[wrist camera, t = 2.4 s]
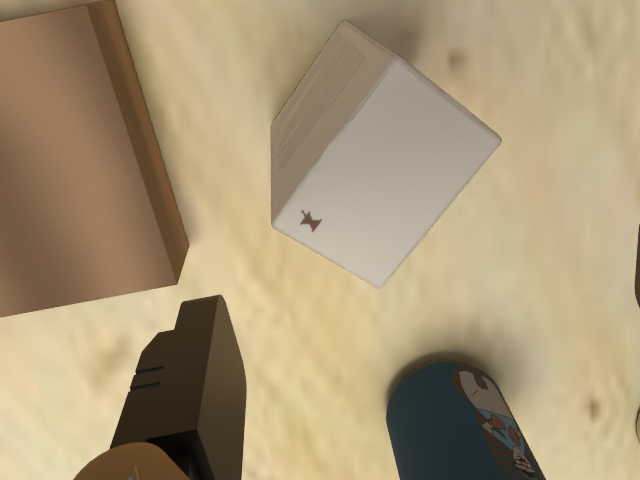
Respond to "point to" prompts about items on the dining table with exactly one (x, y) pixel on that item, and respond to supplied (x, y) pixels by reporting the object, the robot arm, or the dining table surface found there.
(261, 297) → the dining table surface
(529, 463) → the soda can
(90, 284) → the walnut base
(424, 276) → the dining table surface
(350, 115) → the skincare box
